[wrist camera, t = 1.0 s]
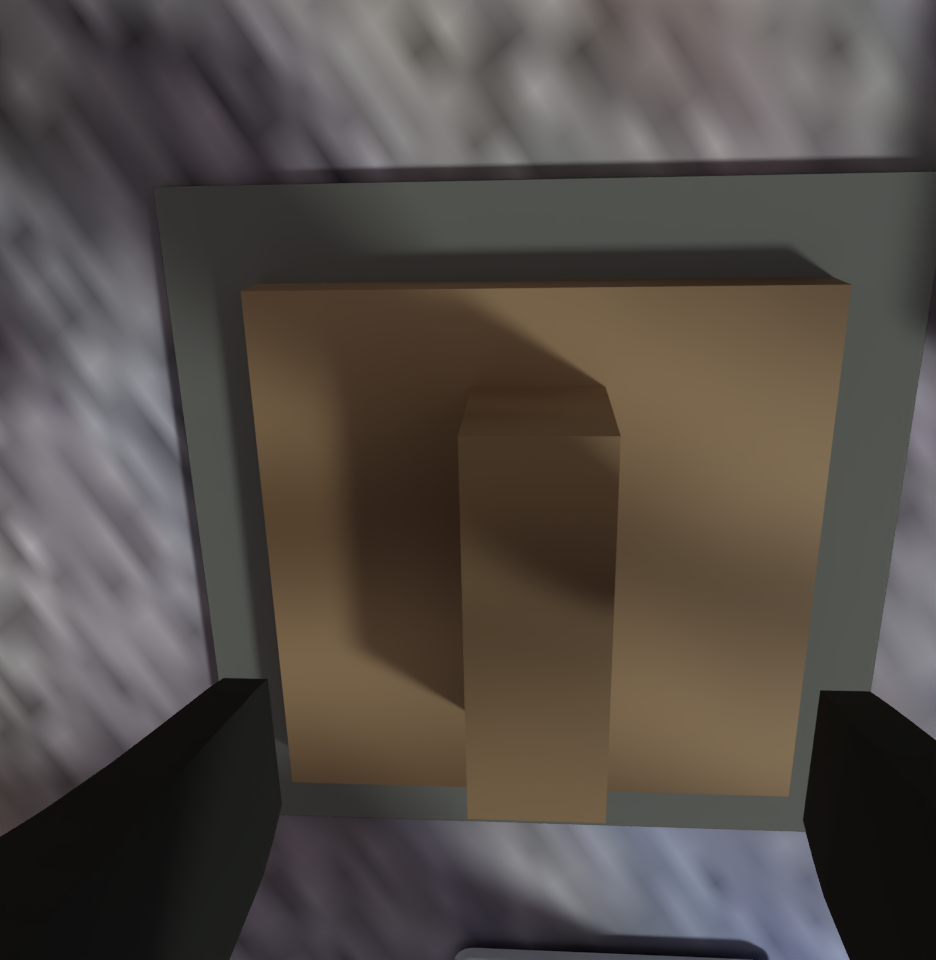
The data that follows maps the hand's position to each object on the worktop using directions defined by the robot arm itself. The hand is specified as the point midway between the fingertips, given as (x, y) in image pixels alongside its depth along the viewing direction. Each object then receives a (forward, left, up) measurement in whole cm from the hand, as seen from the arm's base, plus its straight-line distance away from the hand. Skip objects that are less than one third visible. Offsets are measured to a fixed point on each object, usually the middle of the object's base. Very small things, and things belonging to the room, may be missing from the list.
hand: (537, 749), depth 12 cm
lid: (0, 0, -7) cm, 7 cm away
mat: (0, 0, -7) cm, 7 cm away
